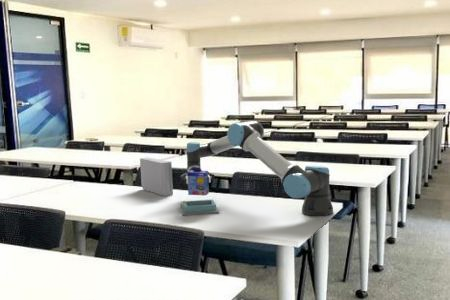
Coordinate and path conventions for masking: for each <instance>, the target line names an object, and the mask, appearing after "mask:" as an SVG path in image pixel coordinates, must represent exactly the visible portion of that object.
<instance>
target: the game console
mask: <svg viewBox="0 0 450 300" xmlns="http://www.w3.org/2000/svg"><path fill="white" fill-rule="evenodd" d="M139 165H140V168H139V169H140V180H141V182H140V183H141V188H142V189H144V190H143V191H146V190H147V192H149V191H150V193H153V192H154V193H153V194H156V193H157V195H161V196H165V197H167V195H168V196H172V194H173V195H174V191H173V190H174V189H173V188H174V186H173V168H172V166H173V165H172V161H169V160H164V159H160V158H159V159H158V158H152V157H147V156H146V157H141V158H139Z"/></svg>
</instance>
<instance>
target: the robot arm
mask: <svg viewBox="0 0 450 300" xmlns="http://www.w3.org/2000/svg"><path fill="white" fill-rule="evenodd" d="M226 134H227V135H226V136H222V137H220V138H218V139H215V140H213V141H211V142H208V143H204V144H203V143H201V144H200V142H199V141H191V142H188V143H187V142H186V143H187V144H186V164H187V165H186V171H187V172H183V174H182V175H181V174H180V176H179V178H180V182H183V183H184V184H186V185H188V172H189V171H190V170H194V168H193V167H200V169H201V170H202V168H201V158H207V157H213V156H217V155H218V154H219V153H222V152H225V151H227V150H231V149H233V148H236V147H240V148H241V149H242V150H243V151H244V152H250V153H251V154H253V156H255V158H257V159H258V160H259V161H260V162H262V163H263V164H264V166H266V167H267V168H268V169H269V170H271V171H272V172H273V173H274V174H275V175H277V177H278V178H280V180H281V181H280V182H281V185H282V186H283V188H284V192H285V193H286V195H288V196H289V197H291V198H293V199H302V198H304V200H303V204H302V206H301V213H302V214H304V215H308V216H316V217H323V216H329V215H332V214H333V213H334V207H333V205H332V200H331V198H330V169H329V168H328V167H327V166H323V165H321V166H319V165H305V167H304V169H303V168H302V167H301V166H299V165H298V164H294V165H293V164H292V163H291V162H289V160H288V159H286V158H285V157H284V156H282V155H281V154H280V152H278V151H276V150H275V149H274V148H273V147H272V146H271V145H269V144H268V143H267V142H266V141H265V140H264V139H263V137H264V134H265V130H264V126H263V125H262V124H261V122H259V121H256V120H248V121H237V122H234V123H232V124H230V125H229V127H228V128H227V133H226ZM195 170H199V169H197V168H196V169H195ZM215 179H216V178H215V174H214V173H211V172H209V171H208V184H209V183H211V181H212V180H214V181H215Z"/></svg>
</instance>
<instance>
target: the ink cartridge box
mask: <svg viewBox="0 0 450 300" xmlns="http://www.w3.org/2000/svg"><path fill="white" fill-rule="evenodd" d="M193 168H194V170H190V171H189V172H187V174H188V184H187V192H188V193H187V195H188V196H207V195H208V194H210V188H209V187H210V185H209V181H208V172H209V171H208V170H202V168H201V169H200V167H193ZM196 168H197V169H199V170H195V169H196Z"/></svg>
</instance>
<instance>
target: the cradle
mask: <svg viewBox="0 0 450 300" xmlns="http://www.w3.org/2000/svg"><path fill="white" fill-rule="evenodd" d="M182 202H183V203H182V204H180V207H181V212H182V216H183V217H186V216H187V217H188V216H200V215H201V216H202V215H215V214H220V210H219V209H218V206H217V204H216V202H215V200H214V199H203V200H202V199H199V200H187V201H184V200H183V201H182Z"/></svg>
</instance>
